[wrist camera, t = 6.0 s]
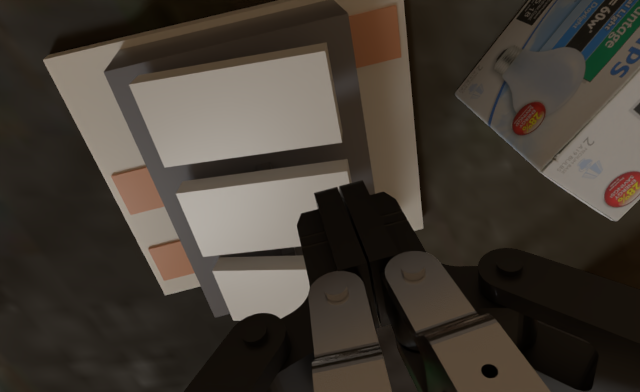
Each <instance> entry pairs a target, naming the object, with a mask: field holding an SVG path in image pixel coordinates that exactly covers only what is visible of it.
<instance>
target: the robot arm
mask: <svg viewBox="0 0 640 392" xmlns="http://www.w3.org/2000/svg"><path fill="white" fill-rule="evenodd" d="M314 196H315V200H316V204H317V208H318V209H316V210H312V211H308V212H305V213H301V215H300V218H299V220H298V223H297V230H298V234H299V238H300V243H301V248H302V252H303V257H304V261H305V266H306V270H307V275H308V279H309V285H310V289H309V293H308V296H307V298H306V300H305V301H304V302H303V304H302V305H301V306H300V307H299V308H297V309H296V310H295V311H293V312H292V313H290V314H288V315H286V316H285V317H283V318H281V319H280V318H279V317H278V316H276V315H273V314H270V313H258V314H253V315H251V316H248V317H246V318H244V319H243V320H241V321H240V322H239V323H237V324H236V325H235V326H234V327H233V329H232V330H231V331H230V332H229V334H228V335H227V336H226V338H225V339H224V340H223V342H222V343H221V344H220V345H219V347H218V348H217V349H216V351H215V352H214V353H213V355H212V356H211V357H210V358H209V360H208V361H207V362H206V364H205V365H204V366H203V367H202V369H201V370H200V371H199V373H198V374H197V375H196V377H195V378H194V379H193V380H192V382H191V383H190V384H189V386H188V387H187V388H186V389H185V391H184V392H392V391H391V387H390V383H389V379H388V375H387V371H386V367H385V363H384V359H383V355H382V351H381V348H380V346H379V342H378V338H377V333H376V328H379V323H378V318H379V320H380V323H381V326H382V327H383V326H386V325H390V324H391V326H392V328H393V331H394V334H395V338H396V344H397V349H398V351H399V353H400V356H401V358H402V360H403V362H404V364H405V366H406V368H407V370H408V372H409V374H410V376H411V378H412V380H413V382H414V384H415V386H416V388H417V390H418V392H640V289H637V288H634V287H631V286H627V285H624V284H621V283H618V282H615V281H612V280H609V279H606V278H603V277H600V276H597V275H594V274H591V273H588V272H585V271H582V270H579V269H576V268H573V267H570V266H567V265H564V264H561V263H558V262H555V261H552V260H549V259H546V258H543V257H540V256H537V255H534V254H531V253H528V252H525V251H521V250H518V249H512V248H502V249H496V250H493V251H490V252H488V253H487V254H485V255H484V256H483V257H482V258H481V259H480V261H479V264H478V266H462V267H459V266H449V265H445V264H442V263H440V261H439V260H438V259H437V258H436V257H434V256H433V255H431V254H428V253H426V251H425V249H424V248H423V246H422V244H421V242H420V241H419V239H418V237H417V235H416V234H415V232H414V230H413V228H412V227H411V225H410V223H409V221H407V218H406V216H405V214H404V213H403V212H402V209H401V207H400V206H399V204H398V202H397V200H396V199H395V198H393V197H392V196H390V195H389V194H387V193H385V192H380V193H376V194H372V195H370V194H369V192H368V190H367V188H366V186H365V184H364V182H363V180H360V181H357V182H353V183H349V184H345V185H341V186H339V190H338V187H334V188H330V189H327V190H323V191H319V192H315V193H314ZM377 315H378V317H377Z"/></svg>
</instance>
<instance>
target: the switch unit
mask: <svg viewBox="0 0 640 392" xmlns="http://www.w3.org/2000/svg"><path fill="white" fill-rule="evenodd" d="M326 42H327V48H328V54H329V59H330V65H331V70H332V76H333V81H334V87H335V92H336V98H337V104H338V109H339V115H340V120H341V126H342V143H335V144H328V145H321V146H314V147H307V148H300V149H293V150H286V151H279V152H272V153H265V154H258V155H250V156H243V157H236V158H229V159H222V160H215V161H208V162H201V163H194V164H187V165H180V166H173V167H165V168H164V165H163V163H162V161H161V158H160V156H159V154H158V151H157V149H156V147H155V144H154V142H153V140H152V137H151V135H150V133H149V130H148V128H147V126H146V123H145V121H144V119H143V116H142V114H141V112H140V109H139V107H138V105H137V103H136V100H135V98H134V96H133V93H132V91H131V89H130V86H129V84H130V83H131V82H132V81H133V80H134V79H135V78H136V77H137V76H138V75H143V74H148V73H154V72H160V71H166V70H171V69H177V68H183V67H189V66H194V65H200V64H206V63H211V62H217V61H223V60H229V59H234V58H240V57H246V56H252V55H257V54H263V53H269V52H275V51H280V50H286V49H292V48H297V47H303V46H309V45H315V44H320V43H326ZM43 61H44V63H45V65H46V67H47V69H48V71H49V73H50V74H51V76H52V78H53V80H54V82H55V84H56V86H57V88H58V90H59V92H60V94H61V96H62V98H63V100H64V101H65V103H66V105H67V107H68V109H69V111H70V113H71V115H72V117H73V119H74V121H75V123H76V125H77V126H78V128H79V130H80V132H81V134H82V136H83V138H84V140H85V142H86V144H87V146H88V148H89V150H90V151H91V153H92V155H93V157H94V159H95V161H96V163H97V165H98V167H99V169H100V171H101V173H102V175H103V177H104V178H105V180H106V182H107V184H108V186H109V188H110V190H111V192H112V194H113V196H114V198H115V200H116V202H117V203H118V205H119V207H120V209H121V211H122V213H123V215H124V217H125V219H126V221H127V223H128V225H129V227H130V228H131V230H132V232H133V234H134V236H135V238H136V240H137V242H138V244H139V246H140V248H141V250H142V252H143V253H144V255H145V257H146V259H147V261H148V263H149V265H150V267H151V269H152V271H153V273H154V275H155V277H156V279H157V280H158V282H159V284H160V286H161V288H162V290H163V292H164V294H165V295H168V294H172V293H176V292H180V291H184V290H188V289H192V288H195V287H199V286H201V288H202V290H203V292H204V294H205V297H206V299H207V301H208V303H209V305H210V308H211V310H212V312H213V314H214V316H215V317H219V316H223V315H227V314H230V312H229V309H228V307H227V305H226V302H225V300H224V298H223V295H222V293H221V291H220V288H219V286H218V283H217V281H216V279H215V276H214V274H213V272H212V270H213V268H214V267H215V265H216V263H217V261H218V259H219V258H220V257H258V256H299V255H303V252H302V248H301V246H299V247H290V248H281V249H272V250H263V251H253V252H244V253H235V254H226V255H217V256H208V257H203V256H202V254H201V251H200V249H199V247H198V244H197V242H196V240H195V237H194V235H193V233H192V230H191V228H190V226H189V223H188V221H187V219H186V216H185V214H184V212H183V209H182V207H181V205H180V202H179V200H178V198H177V195H176V192H177V191H178V189H179V187H180V185H181V183H182V182H183V181H189V180H196V179H204V178H211V177H218V176H226V175H233V174H240V173H248V172H255V171H263V170H270V169H277V168H285V167H292V166H299V165H307V164H314V163H322V162H329V161H336V160H344V159H348V165H349V170H350V176H351V181H352V183H353V182H357V181H360V180H363V182H364V184H365V186H366V188H367V190H368V192H369V194H370V195H372V194H376V193H380V192H385V193H387V194H389V195H390V196H392V197H393V198H395V199H396V200H397V202H398V204H399V206H400V207H401V209H402V212H403V213H404V214H405V216H406V218H407V221H409V223H410V225H411V227H412V228H413V230H414V231H416V230H419V229H423V218H422V207H421V195H420V184H419V172H418V160H417V149H416V137H415V126H414V114H413V102H412V91H411V79H410V68H409V56H408V44H407V33H406V21H405V10H404V0H277V1H273V2H269V3H265V4H260V5H256V6H252V7H248V8H244V9H239V10H235V11H231V12H227V13H223V14H218V15H214V16H210V17H206V18H201V19H197V20H193V21H189V22H185V23H180V24H176V25H172V26H168V27H164V28H159V29H155V30H151V31H147V32H143V33H138V34H134V35H130V36H126V37H121V38H117V39H113V40H109V41H105V42H100V43H96V44H92V45H88V46H84V47H79V48H75V49H71V50H67V51H62V52H58V53H54V54H50V55H48V56H47V57H46V58H44V59H43Z"/></svg>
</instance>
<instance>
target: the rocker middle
mask: <svg viewBox="0 0 640 392" xmlns="http://www.w3.org/2000/svg"><path fill="white" fill-rule="evenodd" d="M349 183H352V181H351V176H350V170H349V165H348V159H344V160H336V161H329V162H322V163H314V164H307V165H299V166H292V167H285V168H277V169H270V170H263V171H255V172H248V173H240V174H233V175H226V176H218V177H211V178H204V179H196V180H189V181H183V182H182V183H181V185H180V187H179V189H178V191H177V192H176V195H177V198H178V200H179V202H180V205H181V207H182V209H183V212H184V214H185V216H186V219H187V221H188V223H189V226H190V228H191V230H192V233H193V235H194V237H195V240H196V242H197V244H198V247H199V249H200V251H201V254H202V256H203V257H208V256H217V255H226V254H235V253H244V252H253V251H263V250H272V249H281V248H290V247H299V246H301V243H300V238H299V234H298V230H297V223H298V220H299V218H300V215H301V213H305V212H308V211H312V210H316V209H318V208H317V204H316V200H315V196H314V193H315V192H319V191H323V190H327V189H330V188H334V187H338V190H339V186H341V185H345V184H349Z"/></svg>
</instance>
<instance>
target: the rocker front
mask: <svg viewBox="0 0 640 392" xmlns="http://www.w3.org/2000/svg"><path fill="white" fill-rule="evenodd" d="M129 86H130V89H131V91H132V93H133V96H134V98H135V100H136V103H137V105H138V107H139V109H140V112H141V114H142V116H143V119H144V121H145V123H146V126H147V128H148V130H149V133H150V135H151V137H152V140H153V142H154V144H155V147H156V149H157V151H158V154H159V156H160V158H161V161H162V163H163V165H164V168H165V167H173V166H180V165H187V164H194V163H201V162H208V161H215V160H222V159H229V158H236V157H243V156H250V155H258V154H265V153H272V152H279V151H286V150H293V149H300V148H307V147H314V146H321V145H328V144H335V143H342V126H341V120H340V115H339V109H338V104H337V98H336V92H335V87H334V81H333V76H332V70H331V65H330V59H329V54H328V48H327V42H326V43H320V44H315V45H309V46H303V47H297V48H292V49H286V50H280V51H275V52H269V53H263V54H257V55H252V56H246V57H240V58H234V59H229V60H223V61H217V62H211V63H206V64H200V65H194V66H189V67H183V68H177V69H171V70H166V71H160V72H154V73H148V74H143V75H138V76H137V77H136V78H135V79H134V80H133V81H132V82H131V83H130V84H129Z"/></svg>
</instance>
